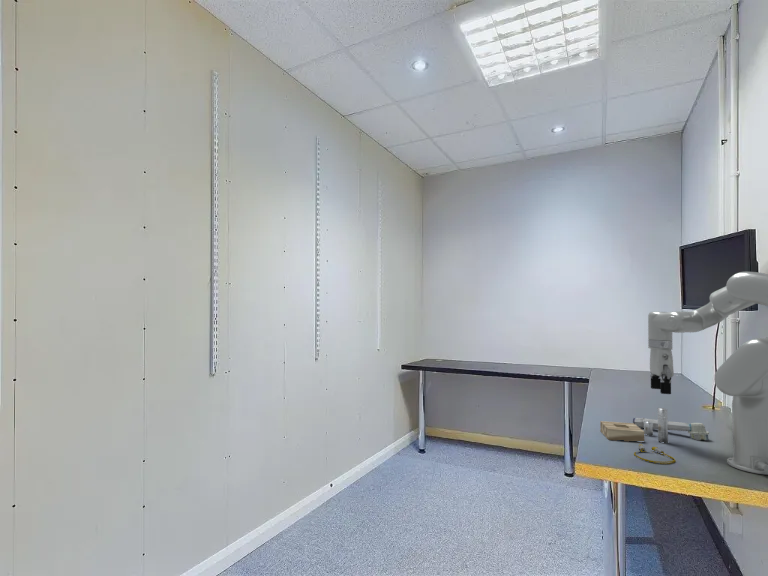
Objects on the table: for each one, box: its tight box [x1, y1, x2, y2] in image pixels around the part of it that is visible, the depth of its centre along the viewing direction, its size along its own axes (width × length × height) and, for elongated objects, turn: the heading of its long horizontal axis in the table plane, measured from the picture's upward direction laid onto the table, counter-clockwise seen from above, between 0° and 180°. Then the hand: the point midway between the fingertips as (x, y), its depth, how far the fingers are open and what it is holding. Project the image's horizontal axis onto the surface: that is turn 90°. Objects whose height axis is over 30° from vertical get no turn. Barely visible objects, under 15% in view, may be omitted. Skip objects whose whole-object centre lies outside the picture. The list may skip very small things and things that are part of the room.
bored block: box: [599, 420, 645, 442], centre depth 161 cm, size 12×12×4 cm
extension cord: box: [633, 443, 676, 465], centre depth 139 cm, size 12×16×2 cm
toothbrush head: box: [632, 417, 710, 441], centre depth 167 cm, size 5×7×25 cm
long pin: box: [657, 407, 669, 444], centre depth 155 cm, size 3×3×12 cm
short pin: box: [643, 421, 654, 436], centre depth 164 cm, size 3×3×5 cm
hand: (660, 391), depth 156 cm, fingers open, 9 cm apart
